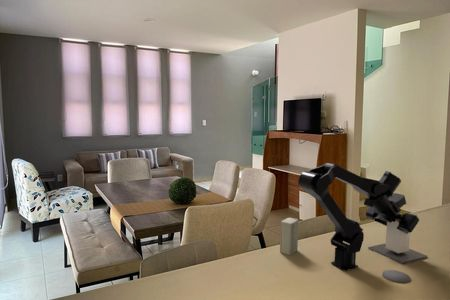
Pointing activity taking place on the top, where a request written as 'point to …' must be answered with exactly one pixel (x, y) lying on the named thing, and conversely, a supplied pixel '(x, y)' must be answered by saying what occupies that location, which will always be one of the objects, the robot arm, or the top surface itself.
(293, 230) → the skincare box
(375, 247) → the post plate
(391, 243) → the pink-topped tall block
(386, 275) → the slate coaster
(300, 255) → the top surface
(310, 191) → the robot arm
